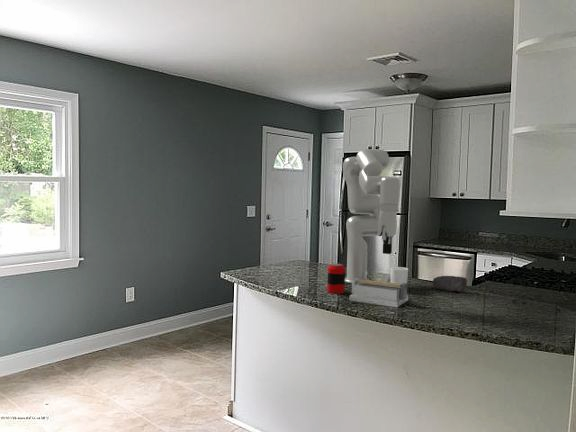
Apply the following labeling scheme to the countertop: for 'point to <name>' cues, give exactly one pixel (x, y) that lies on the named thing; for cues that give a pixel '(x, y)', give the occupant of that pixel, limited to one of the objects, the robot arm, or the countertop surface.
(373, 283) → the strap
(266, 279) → the countertop surface
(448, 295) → the countertop surface
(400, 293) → the heatsink
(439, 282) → the perforated stone tool
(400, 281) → the white cup
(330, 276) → the soda can
